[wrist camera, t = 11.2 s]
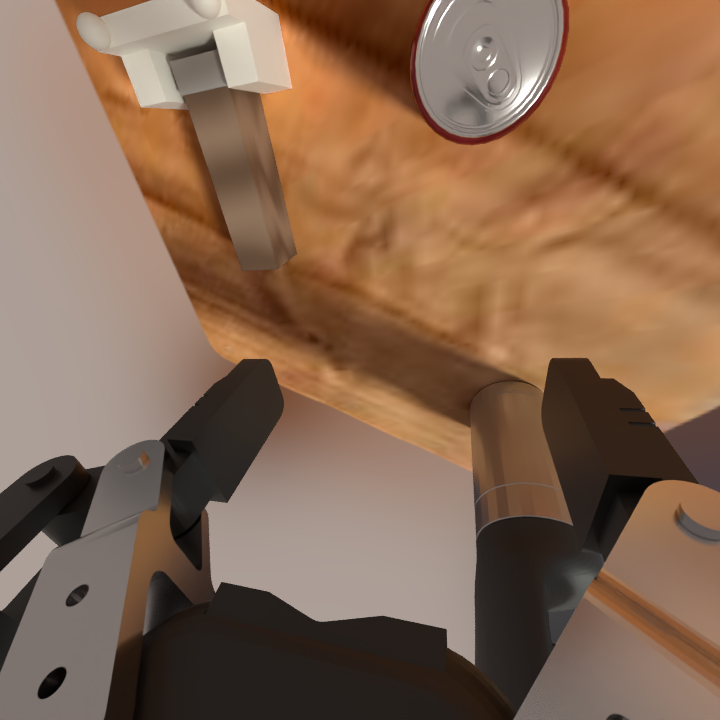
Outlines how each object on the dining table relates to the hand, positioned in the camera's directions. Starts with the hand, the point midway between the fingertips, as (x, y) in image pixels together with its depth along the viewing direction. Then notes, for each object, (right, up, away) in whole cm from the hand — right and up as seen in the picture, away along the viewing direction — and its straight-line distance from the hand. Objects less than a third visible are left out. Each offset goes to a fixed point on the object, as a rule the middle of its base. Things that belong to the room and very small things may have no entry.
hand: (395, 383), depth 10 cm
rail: (-11, +19, +23) cm, 32 cm away
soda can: (+8, +22, +16) cm, 28 cm away
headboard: (-12, +26, +18) cm, 34 cm away
